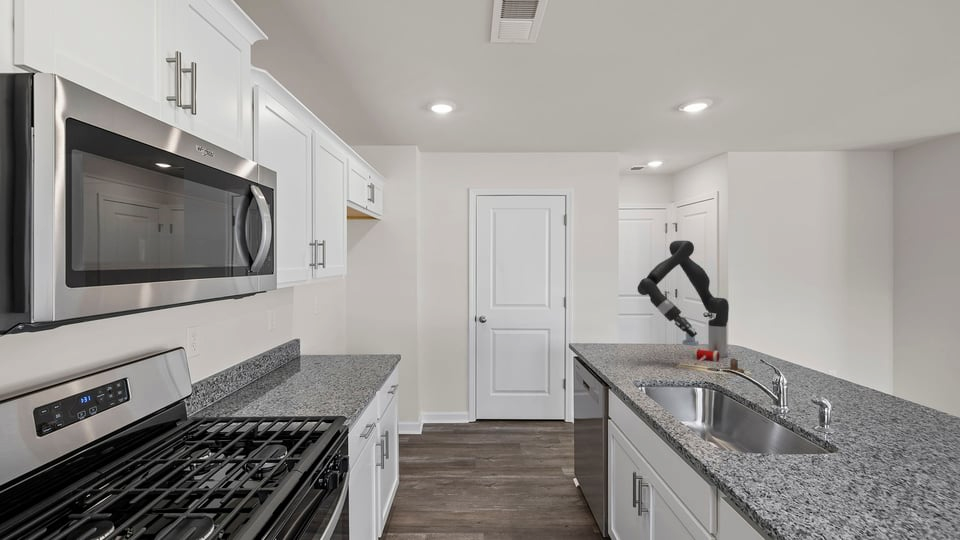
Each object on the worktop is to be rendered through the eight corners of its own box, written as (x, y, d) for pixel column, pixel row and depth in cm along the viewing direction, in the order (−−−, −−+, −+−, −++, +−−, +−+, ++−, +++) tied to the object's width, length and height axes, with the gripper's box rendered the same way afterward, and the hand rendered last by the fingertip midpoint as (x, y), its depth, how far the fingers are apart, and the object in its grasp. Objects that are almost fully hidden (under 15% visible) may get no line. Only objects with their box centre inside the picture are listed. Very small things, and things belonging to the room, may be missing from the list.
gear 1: (684, 342, 225) (684, 326, 224) (699, 343, 220) (699, 328, 220) (681, 344, 219) (681, 328, 219) (696, 346, 215) (696, 329, 214)
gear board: (680, 365, 228) (680, 362, 228) (750, 373, 210) (750, 370, 210) (674, 370, 218) (674, 367, 218) (747, 379, 200) (747, 376, 200)
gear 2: (725, 369, 214) (725, 355, 214) (744, 371, 209) (745, 358, 209) (723, 372, 208) (723, 358, 208) (743, 375, 203) (743, 361, 203)
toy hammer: (707, 369, 220) (707, 356, 220) (683, 365, 228) (683, 353, 228) (719, 361, 237) (719, 350, 237) (696, 358, 245) (696, 347, 245)
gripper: (671, 306, 218) (697, 332, 211) (677, 303, 229) (703, 329, 222) (659, 316, 221) (686, 342, 214) (666, 313, 233) (691, 338, 226)
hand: (694, 335), depth 218 cm, fingers closed on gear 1, 4 cm apart
